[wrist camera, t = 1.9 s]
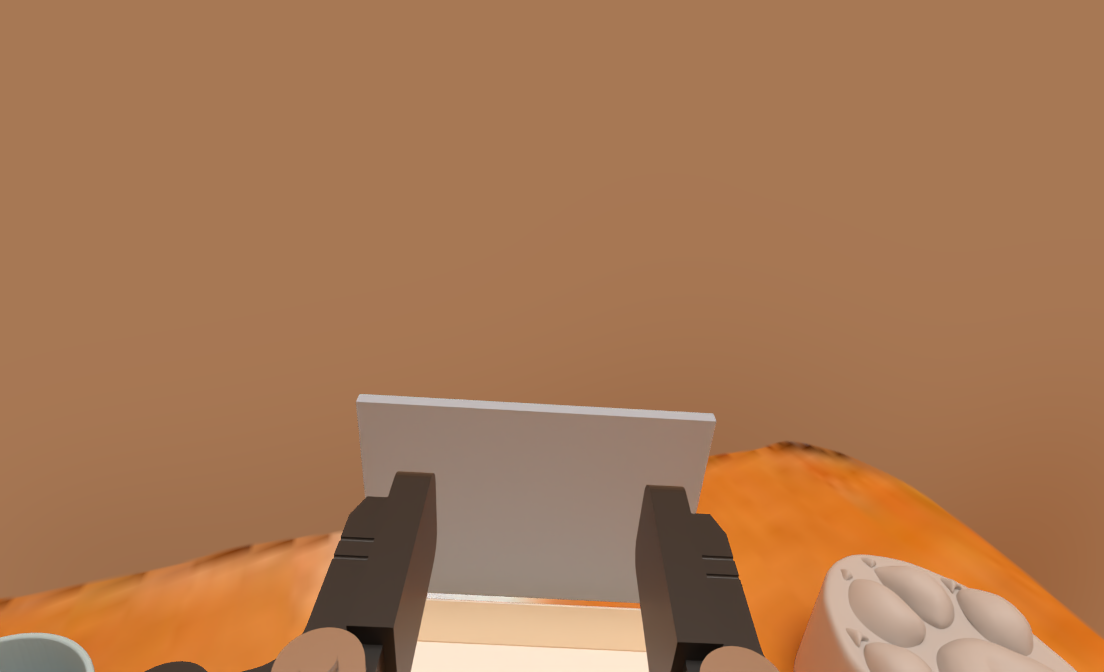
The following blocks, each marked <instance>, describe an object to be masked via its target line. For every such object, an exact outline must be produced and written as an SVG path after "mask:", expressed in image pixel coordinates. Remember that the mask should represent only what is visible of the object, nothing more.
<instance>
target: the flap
mask: <svg viewBox="0 0 1104 672" xmlns="http://www.w3.org/2000/svg"><path fill="white" fill-rule="evenodd" d="M356 406H357V416H358V427H359V437H360V447H361V458H362V468H363V478H364V488H365V498H366V497H367V496H373V497H388V495H389V492H390V489H391V486H392V483H393V480H394V477H395V474H396V472H397V471H405V472H424V473H434V474H435V479H436V510H437V542H436V552H435V558H434V564H433V569H432V573H431V578H430V583H429V588H428V592H427V593H444V594H465V595H485V596H506V597H527V598H547V599H568V600H588V601H609V602H630V603H640V600H639V592H638V585H637V577H636V568H635V547H636V538H637V532H638V526H639V520H640V514H641V508H642V502H643V496H644V490H645V487H646V485H663V486H682V487H684V488H685V491H686V494H687V498H688V502H689V506H690V510H691V513H693V514H696V510H697V506H698V501H699V497H700V492H701V488H702V483H703V479H704V474H705V470H706V465H707V461H708V456H709V451H710V447H711V442H712V438H713V433H714V429H715V424H716V420H715V417H714V414H711V413H693V412H692V413H691V412H675V411H657V410H639V409H620V408H602V407H584V406H566V405H548V404H547V405H546V404H529V403H512V402H494V401H476V400H457V399H439V398H420V397H403V396H384V395H366V394H360V395H359V397H358V399H357V401H356Z"/></svg>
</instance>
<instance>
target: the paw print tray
mask: <svg viewBox="0 0 1104 672" xmlns="http://www.w3.org/2000/svg"><path fill="white" fill-rule="evenodd" d="M794 672H1077V671H1076V670H1075V669H1074V668H1073V667H1072V666H1070V665H1069V664H1068V663H1067V662H1066V661H1065V660H1064V659H1062V658H1061V657H1060V656H1059V655H1057V654H1056V653H1055V652H1054V651H1053V650H1051V649H1050V648H1049V647H1048V646H1047V645H1045V644H1044V643H1043V642H1042V641H1041V640H1040V639H1039V638H1037V637H1036V636H1035V635H1034V634H1032V630H1031V627H1030V625H1029V623H1028V621H1027V620H1026V618H1025V617H1024V616H1023V615H1022V613H1021V612H1020V611H1019V610H1018V609H1017V608H1016V607H1015V606H1014V605H1012V604H1011V603H1010V602H1008V601H1007V600H1006V599H1004V598H1002V597H1000V596H998V595H995V594H993V593H989V592H986V591H982V590H977V589H971V588H967V587H965V586H963V585H961V584H959V583H957V582H956V581H954V580H952V579H948V578H945V577H943V576H941V575H939V574H936V573H934V572H931V571H929V570H927V569H924V568H922V567H919V566H916V565H914V564H911V563H908V562H904V561H900V560H896V559H892V558H886V557H879V556H872V555H852V556H848V557H845V558H843V559H841V560H839V561H838V562H836V563H835V564H834V565H833V566H832V567H831V568H830V569H829V571H828V572H827V574H826V576H825V579H824V582H823V584H822V587H821V590H820V592H819V595H818V598H817V601H816V603H815V606H814V609H813V611H812V614H811V617H810V619H809V622H808V625H807V627H806V630H805V633H804V636H803V638H802V641H801V644H800V646H799V649H798V652H797V655H796V658H795V663H794Z"/></svg>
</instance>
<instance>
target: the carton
mask: <svg viewBox="0 0 1104 672" xmlns="http://www.w3.org/2000/svg"><path fill="white" fill-rule="evenodd" d="M411 672H649V668H648V660H647V653H646V645H645V638H644V630H643V623H642V615H641V609H637V608H616V607H596V606H575V605H554V604H533V603H513V602H492V601H471V600H450V599H430V598H426V602H425V607H424V611H423V616H422V621H421V626H420V630H419V635H418V640H417V645H416V649H415V654H414V659H413V664H412V668H411Z"/></svg>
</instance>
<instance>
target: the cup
mask: <svg viewBox="0 0 1104 672" xmlns="http://www.w3.org/2000/svg"><path fill="white" fill-rule="evenodd" d="M0 672H95V670H94V666H93V663H92V661H91V658H90V657H89V655H88V654H87V652H86V651H85V650H84V649H83V648H82V647H81V646H80V645H78V644H77V643H76V642H74V641H72V640H70V639H68V638H66V637H63V636H59V635H55V634H48V633H23V634H16V635H10V636H5V637H1V638H0Z"/></svg>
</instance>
